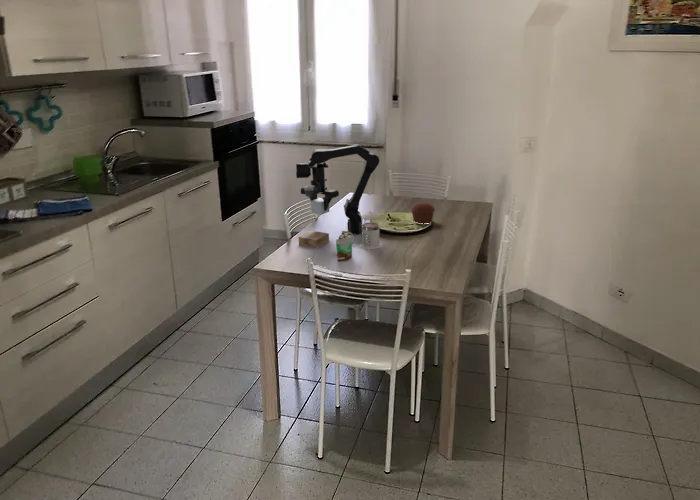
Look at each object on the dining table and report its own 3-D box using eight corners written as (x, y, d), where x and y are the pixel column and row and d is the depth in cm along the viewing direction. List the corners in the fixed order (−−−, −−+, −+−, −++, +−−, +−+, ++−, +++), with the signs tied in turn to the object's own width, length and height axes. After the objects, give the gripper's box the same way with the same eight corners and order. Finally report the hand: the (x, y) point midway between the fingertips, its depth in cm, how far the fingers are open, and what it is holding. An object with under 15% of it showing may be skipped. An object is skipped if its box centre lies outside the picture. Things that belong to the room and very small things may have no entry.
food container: (351, 263, 240) (350, 240, 237) (336, 262, 241) (335, 239, 238) (356, 252, 251) (356, 230, 248) (343, 252, 252) (342, 230, 249)
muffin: (408, 224, 286) (408, 205, 283) (414, 218, 296) (414, 199, 292) (431, 226, 282) (432, 206, 278) (437, 220, 291) (437, 200, 288)
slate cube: (329, 211, 274) (328, 199, 272) (321, 214, 269) (320, 202, 267) (319, 209, 277) (318, 197, 275) (311, 212, 272) (310, 200, 270)
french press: (366, 250, 253) (365, 195, 244) (354, 243, 263) (352, 189, 254) (386, 246, 257) (385, 191, 249) (373, 239, 267) (371, 186, 258)
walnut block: (329, 241, 267) (328, 233, 266) (317, 248, 259) (317, 240, 258) (311, 238, 272) (310, 230, 271) (299, 245, 264) (298, 236, 262)
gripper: (291, 178, 266) (294, 211, 272) (323, 183, 256) (325, 217, 261) (307, 173, 275) (309, 205, 280) (338, 178, 264) (340, 210, 270)
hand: (320, 209), depth 273 cm, fingers closed on slate cube, 6 cm apart
